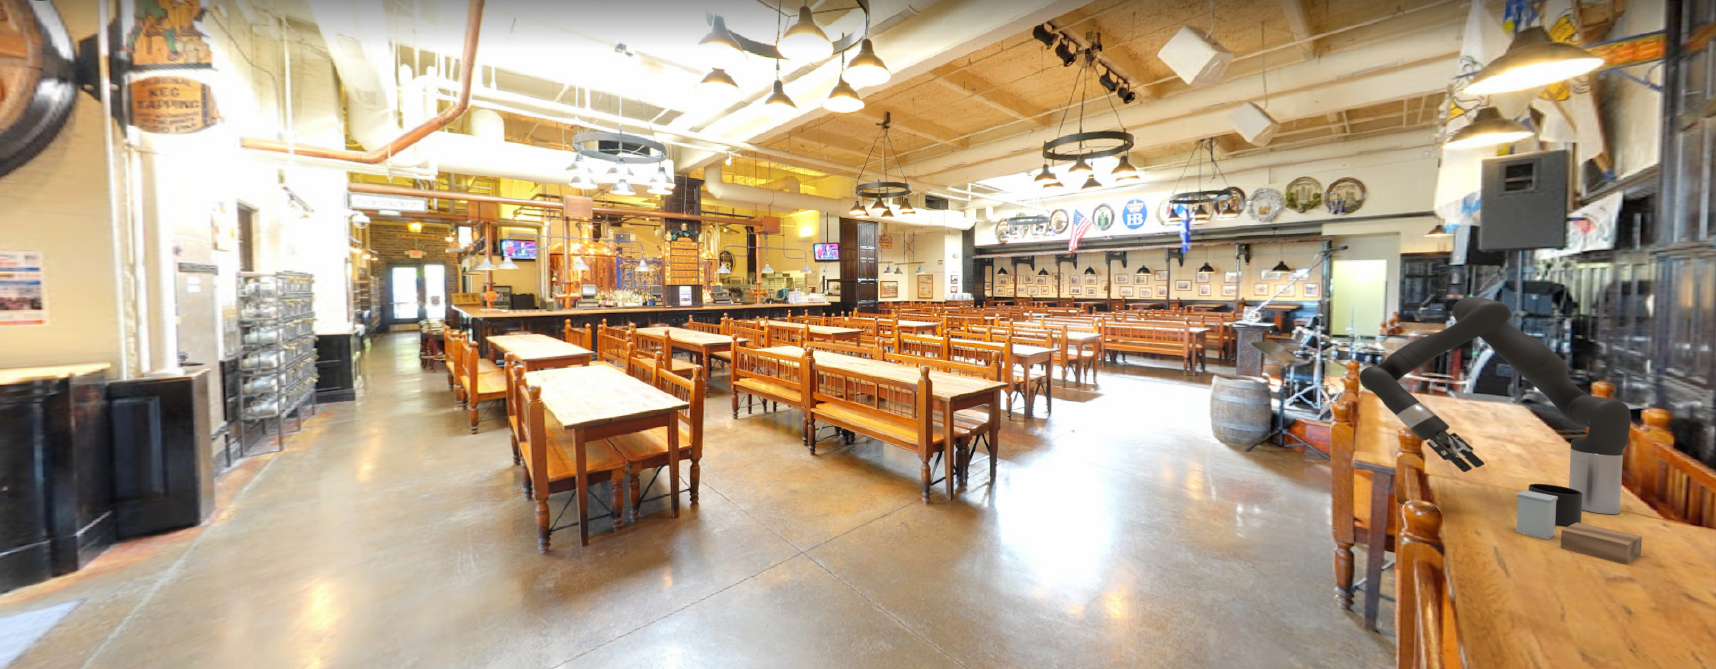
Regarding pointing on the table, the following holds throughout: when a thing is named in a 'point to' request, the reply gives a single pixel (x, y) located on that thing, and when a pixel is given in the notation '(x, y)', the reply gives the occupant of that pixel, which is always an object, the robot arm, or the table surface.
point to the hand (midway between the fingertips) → (1474, 468)
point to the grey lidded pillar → (1536, 514)
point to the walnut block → (1601, 542)
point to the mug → (1562, 502)
